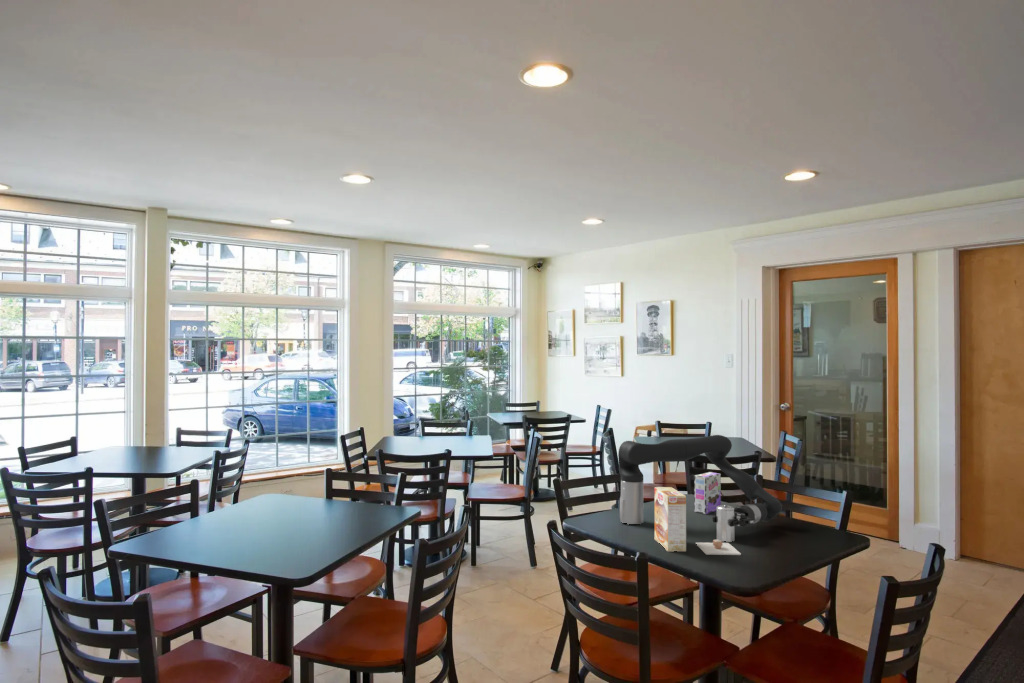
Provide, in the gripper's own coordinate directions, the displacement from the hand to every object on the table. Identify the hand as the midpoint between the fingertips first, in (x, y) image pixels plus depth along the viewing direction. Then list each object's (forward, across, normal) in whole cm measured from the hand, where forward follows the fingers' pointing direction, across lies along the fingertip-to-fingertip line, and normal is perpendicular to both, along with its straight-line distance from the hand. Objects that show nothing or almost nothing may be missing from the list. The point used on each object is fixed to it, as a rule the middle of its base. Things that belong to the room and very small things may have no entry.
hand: (722, 521), depth 220 cm
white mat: (+11, +5, +7) cm, 14 cm away
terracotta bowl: (+11, +5, +7) cm, 14 cm away
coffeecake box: (+21, -8, +7) cm, 23 cm away
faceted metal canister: (-2, 0, +7) cm, 7 cm away
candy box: (-34, -30, +7) cm, 46 cm away
